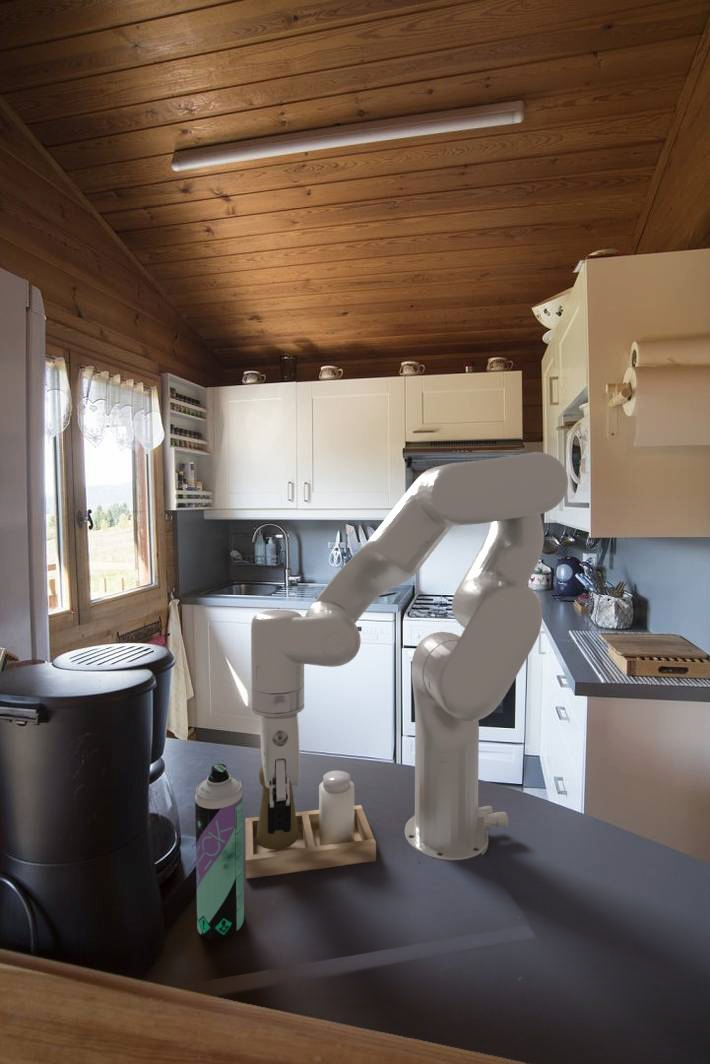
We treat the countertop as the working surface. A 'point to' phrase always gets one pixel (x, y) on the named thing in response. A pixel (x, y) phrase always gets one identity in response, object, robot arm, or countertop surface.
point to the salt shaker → (336, 809)
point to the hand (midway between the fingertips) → (278, 820)
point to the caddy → (308, 847)
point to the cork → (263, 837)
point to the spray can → (219, 854)
